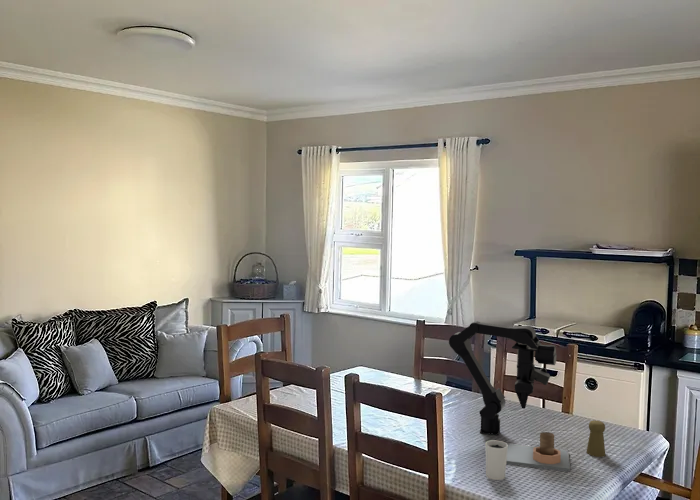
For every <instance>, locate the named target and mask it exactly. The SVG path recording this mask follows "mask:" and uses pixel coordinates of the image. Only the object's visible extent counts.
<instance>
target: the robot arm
mask: <svg viewBox="0 0 700 500" xmlns="http://www.w3.org/2000/svg"><path fill="white" fill-rule="evenodd" d="M476 334H479V335H480V334H481V335H486V336H492V337H500V338H505V339H509V340H511V341H513V342H515V343H514V345H512V346H511V349H514V350H517V354H516V355H517V356H516V357H517V358H516V362H517V363H516V381H515V383H514V392H515V394H516V396H517V399H518V401H519V404H520V407H521V409H526V406H527V403H528V398H529V396H530V395H532V394H533V393H534V382H538V383H542V384H543V385H545V386H547V385H548V383H549V381H550V378H551V375H550V373H549V372H548V371H547V368H544V367H541V368H540V369H539V368H535V367H536V366H535V365H536V364H535V361H536V363H538V364H539V365H540V364H542V365H550V366H556V363H557V355H558V354H557V349H556V345H553V344H552V345H551V344H550V345H548V344H547V345H546V344H542V342H541V341H540V339H539V337H538V336H537V332H536V330H535V328H534V327H533V326H531V325H518V326H517V325H515V326H507V325H501V324H493V323H487V322H481V321H478V320H477V321H473V322H471V323H470V324H469V325H468V326H467V327H466V328H464V329H463V330H461V331H458V332H456V333H453V334H452V335H451V336H450V337H449V340H448V344H449V347H450V348H451V349H452V350H453V352H454V353H455V354H456V355H457V356H458V357H460V358H461V359H462V361H463V363H464V364H465V367H466V368H467V370H468V371H469V373H470V375H471V376H472V378H473V380H474V382H475V384H476V385H477V387H478V388H479V390H480V393H481V395H482V400H483V403H484V406H483V407H482V408H481V409H480V410H479V416H480V430H479V433H480V434H487V435H496V436H498V435H499V433H500V431H501V418H500V414H499V413H500V412H501V411H502V410H503V409H504V408H505V406H506V396H505V395H504V394H503V392H502V389H501V388H500V387H498V388H497V389H496V388H495V387H494V386H493V385H492V383H491V382H490V380H489V378H488V377H487V375H486V372H485V371H484V370H483V368H482V366H481V364H480V363H479V361H478V359H477V357H476V356H475V354H474V352H473V348H472V347H473V346H472V344H471V341H470V339H472V338H473V337H474V336H475V335H476Z"/></svg>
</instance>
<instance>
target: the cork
mask: <svg viewBox="0 0 700 500" xmlns="http://www.w3.org/2000/svg"><path fill="white" fill-rule="evenodd" d="M588 428H589V437H588V441H587V446H586V454H587V455H588V456H591V457H596V458H603V457H606V448H605V447H606V446H605V437H604V432H605V431H606V424H605V423H604V422H603V421H600V420H594V419H593V420H591V421H590V422H589V423H588Z"/></svg>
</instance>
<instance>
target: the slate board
mask: <svg viewBox="0 0 700 500" xmlns="http://www.w3.org/2000/svg"><path fill="white" fill-rule="evenodd" d="M506 444H507V445H508V448H507V461H506V465H514V466H521V467H528V468H529V467H531V468H537V469H545V470H552V471H553V470H554V471H560V472H569V473H570V472H571V465H570V463H571V462H570V456H569V455H570V454H569V450H568V449H557V448H556V449H557V450H559V451H560V453H561V458H560V463H556V464H546V463H540V462H538V461H536V460H534V459H533V448H535V447H536V446H532V445H524V444H517V443H516V444H515V443H507V442H506Z"/></svg>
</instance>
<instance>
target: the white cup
mask: <svg viewBox="0 0 700 500" xmlns="http://www.w3.org/2000/svg"><path fill="white" fill-rule="evenodd" d="M484 448H485V476H486V477H487V478H488V479H489V480H493V481H503V480H505V479H506V474H507V473H506V472H507V471H506V470H507V464H506V461H507V448H508V445H507V442H505V441H502V440H495V439H491V440H487V441H486V442H485V447H484Z"/></svg>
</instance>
